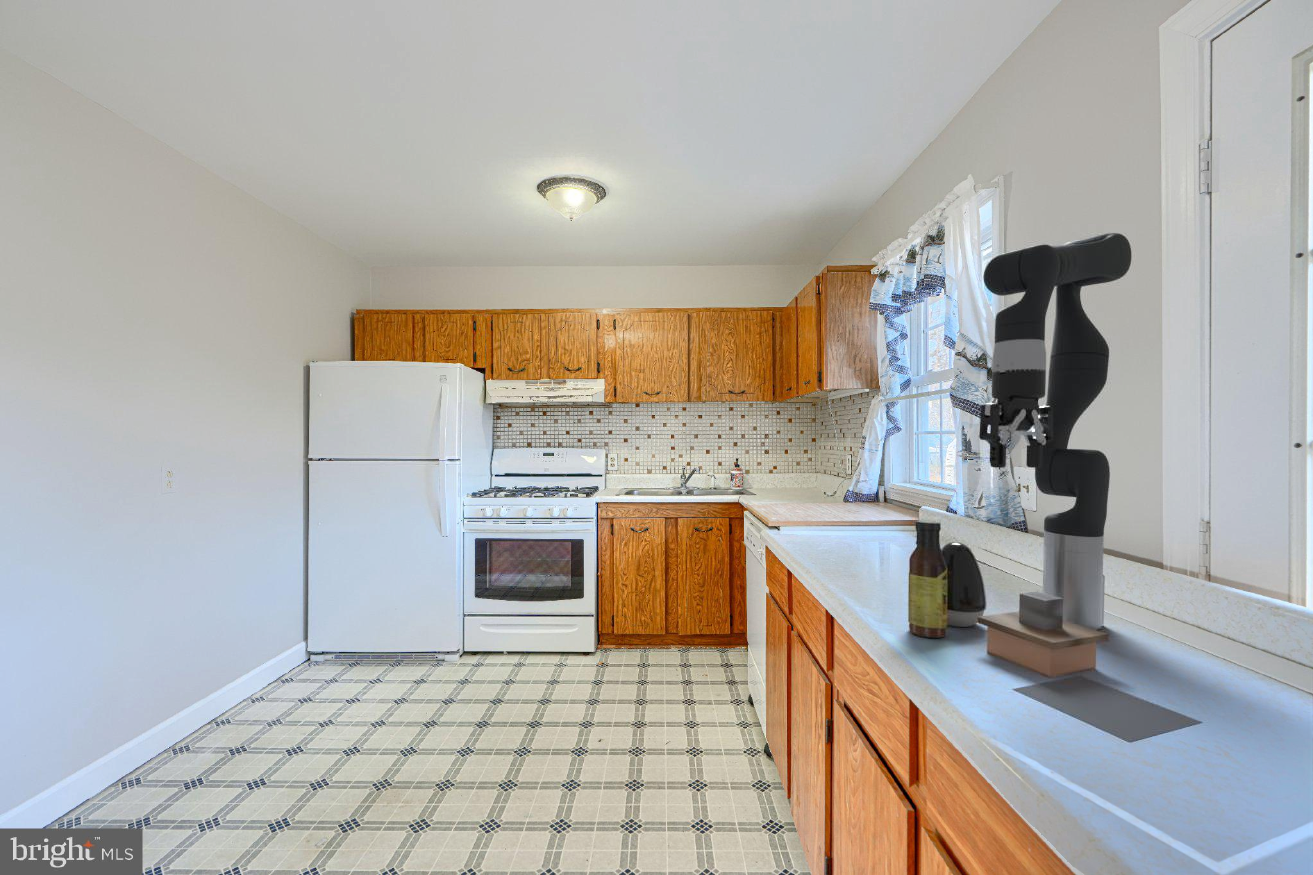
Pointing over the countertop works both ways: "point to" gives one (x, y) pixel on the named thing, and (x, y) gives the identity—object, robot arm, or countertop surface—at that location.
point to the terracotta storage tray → (1041, 654)
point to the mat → (1107, 708)
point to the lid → (1042, 623)
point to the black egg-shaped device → (963, 586)
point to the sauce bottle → (927, 583)
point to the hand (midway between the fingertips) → (1016, 467)
